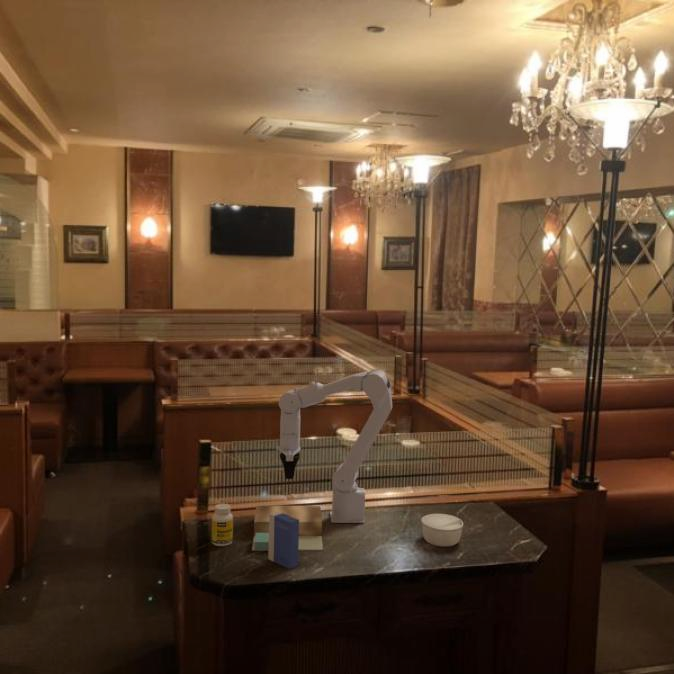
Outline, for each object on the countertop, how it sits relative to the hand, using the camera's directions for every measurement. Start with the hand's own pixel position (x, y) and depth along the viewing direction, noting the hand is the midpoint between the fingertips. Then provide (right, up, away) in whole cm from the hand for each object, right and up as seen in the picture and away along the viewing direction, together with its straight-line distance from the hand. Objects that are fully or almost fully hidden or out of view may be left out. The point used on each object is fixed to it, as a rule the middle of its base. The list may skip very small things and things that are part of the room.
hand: (289, 478), depth 199 cm
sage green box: (-3, -11, -22) cm, 25 cm away
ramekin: (+42, -14, -15) cm, 46 cm away
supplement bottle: (-16, -13, -21) cm, 29 cm away
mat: (+1, -13, -20) cm, 24 cm away
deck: (0, -12, -10) cm, 15 cm away
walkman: (+1, -14, -32) cm, 35 cm away
